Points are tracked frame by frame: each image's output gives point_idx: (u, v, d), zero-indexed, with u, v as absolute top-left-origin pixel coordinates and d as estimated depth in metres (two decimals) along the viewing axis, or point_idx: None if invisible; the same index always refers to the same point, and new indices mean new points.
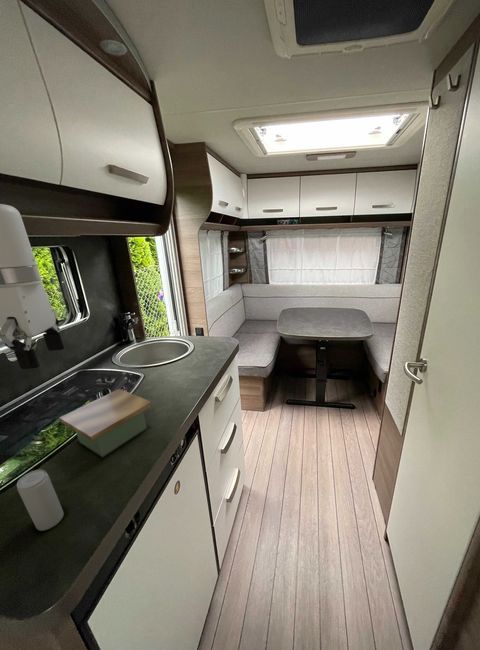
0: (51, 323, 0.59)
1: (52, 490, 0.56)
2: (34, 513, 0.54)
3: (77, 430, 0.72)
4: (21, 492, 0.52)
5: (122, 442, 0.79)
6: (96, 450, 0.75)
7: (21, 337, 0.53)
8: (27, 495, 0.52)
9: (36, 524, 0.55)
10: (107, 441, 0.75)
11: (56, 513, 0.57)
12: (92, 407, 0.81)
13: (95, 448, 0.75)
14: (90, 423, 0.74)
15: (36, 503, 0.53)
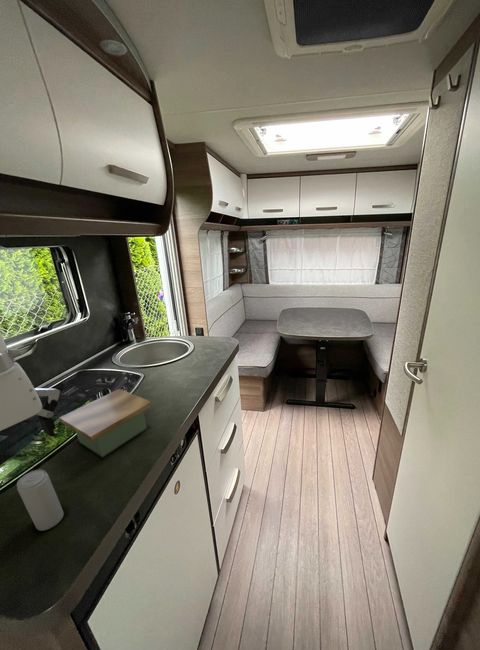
0: (28, 414, 0.50)
1: (52, 490, 0.56)
2: (34, 513, 0.54)
3: (77, 430, 0.72)
4: (21, 492, 0.52)
5: (122, 442, 0.79)
6: (96, 450, 0.75)
7: None
8: (27, 495, 0.52)
9: (36, 524, 0.55)
10: (107, 441, 0.75)
11: (56, 513, 0.57)
12: (92, 407, 0.81)
13: (95, 448, 0.75)
14: (90, 423, 0.74)
15: (36, 503, 0.53)
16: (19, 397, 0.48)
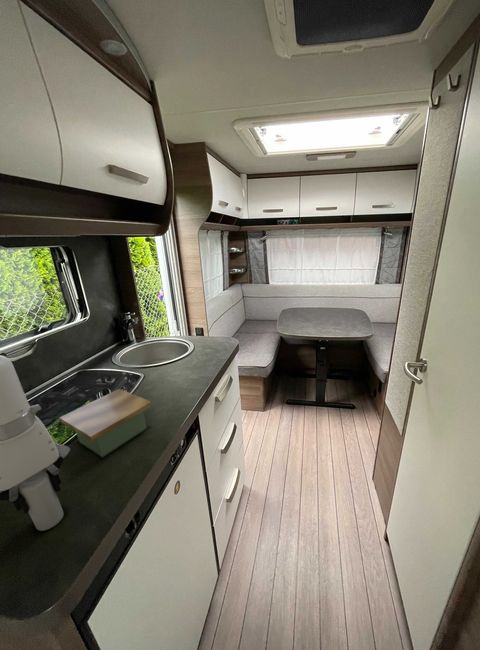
0: (47, 463, 0.54)
1: (52, 490, 0.56)
2: (34, 513, 0.54)
3: (77, 430, 0.72)
4: (21, 492, 0.52)
5: (122, 442, 0.79)
6: (96, 450, 0.75)
7: None
8: (27, 494, 0.52)
9: (36, 524, 0.55)
10: (107, 441, 0.75)
11: (56, 513, 0.57)
12: (92, 407, 0.81)
13: (95, 448, 0.75)
14: (90, 423, 0.74)
15: (36, 503, 0.53)
16: (39, 450, 0.52)
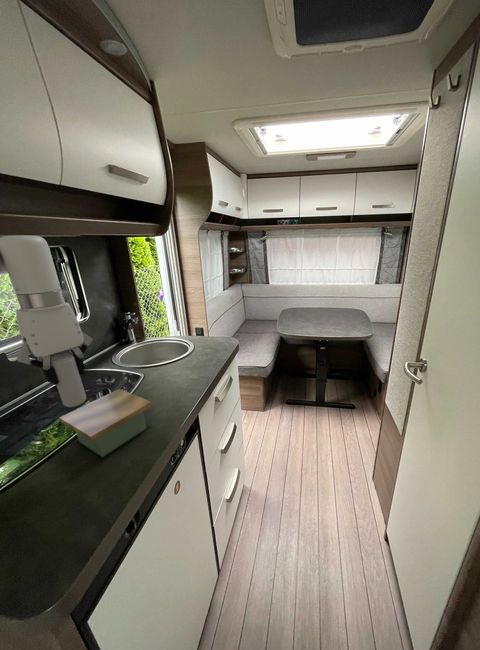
0: (73, 344, 0.62)
1: (77, 371, 0.64)
2: (63, 387, 0.62)
3: (77, 430, 0.72)
4: (52, 365, 0.60)
5: (122, 442, 0.79)
6: (96, 450, 0.75)
7: None
8: (57, 368, 0.61)
9: (64, 399, 0.64)
10: (107, 441, 0.75)
11: (80, 392, 0.65)
12: (92, 407, 0.81)
13: (95, 448, 0.75)
14: (90, 423, 0.74)
15: (65, 377, 0.62)
16: (68, 328, 0.60)
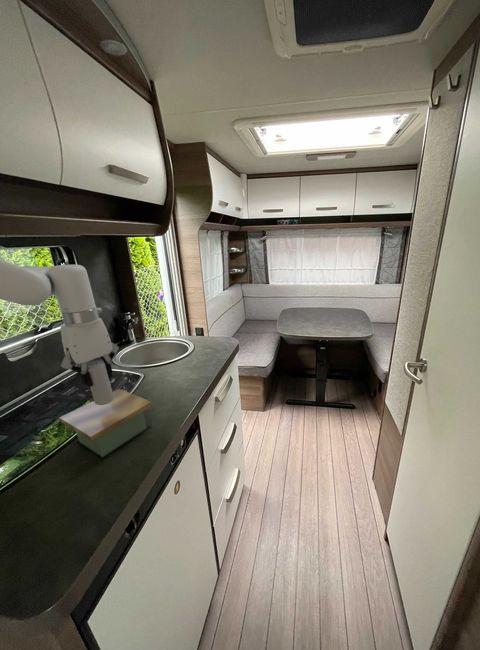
0: (105, 352, 0.74)
1: (107, 375, 0.76)
2: (96, 388, 0.74)
3: (77, 430, 0.72)
4: (88, 370, 0.72)
5: (122, 442, 0.79)
6: (96, 450, 0.75)
7: None
8: (92, 372, 0.73)
9: (96, 399, 0.76)
10: (107, 441, 0.75)
11: (109, 392, 0.77)
12: (92, 407, 0.81)
13: (95, 448, 0.75)
14: (90, 423, 0.74)
15: (98, 380, 0.74)
16: (101, 339, 0.72)
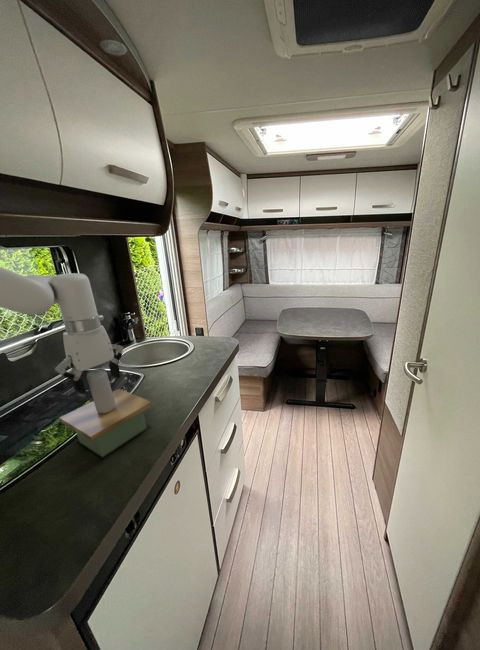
0: (106, 359, 0.75)
1: (109, 383, 0.77)
2: (98, 397, 0.75)
3: (77, 430, 0.72)
4: (90, 379, 0.73)
5: (122, 442, 0.79)
6: (96, 450, 0.75)
7: (76, 369, 0.71)
8: (94, 381, 0.74)
9: (98, 407, 0.77)
10: (107, 441, 0.75)
11: (111, 401, 0.78)
12: (92, 407, 0.81)
13: (95, 448, 0.75)
14: (90, 423, 0.74)
15: (100, 389, 0.75)
16: (103, 347, 0.73)
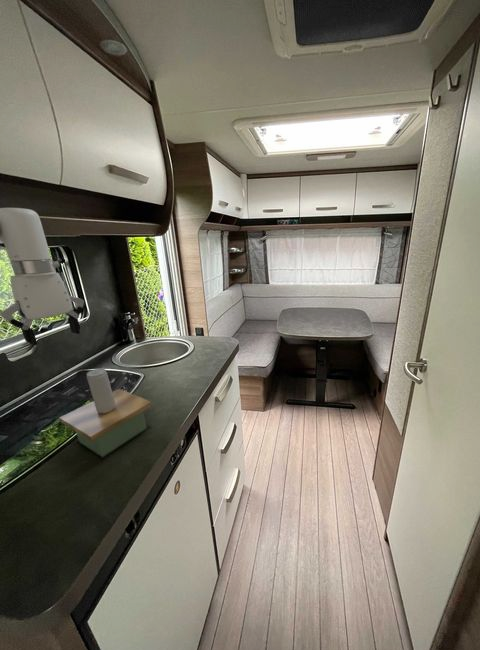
0: (62, 310, 0.69)
1: (109, 383, 0.77)
2: (98, 397, 0.75)
3: (77, 430, 0.72)
4: (90, 379, 0.73)
5: (122, 442, 0.79)
6: (96, 450, 0.75)
7: None
8: (94, 381, 0.74)
9: (98, 407, 0.77)
10: (107, 441, 0.75)
11: (111, 401, 0.78)
12: (92, 407, 0.81)
13: (95, 448, 0.75)
14: (90, 423, 0.74)
15: (100, 389, 0.75)
16: (57, 295, 0.67)
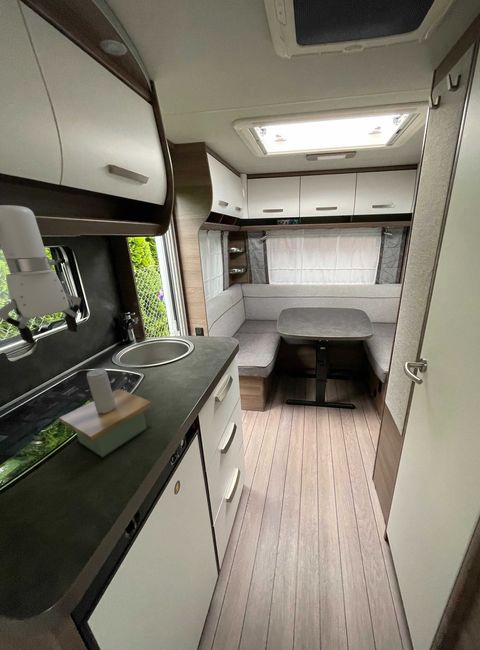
0: (59, 308, 0.68)
1: (109, 383, 0.77)
2: (98, 397, 0.75)
3: (77, 430, 0.72)
4: (90, 379, 0.73)
5: (122, 442, 0.79)
6: (96, 450, 0.75)
7: None
8: (94, 381, 0.74)
9: (98, 407, 0.77)
10: (107, 441, 0.75)
11: (111, 401, 0.78)
12: (92, 407, 0.81)
13: (95, 448, 0.75)
14: (90, 423, 0.74)
15: (100, 389, 0.75)
16: (54, 293, 0.67)
